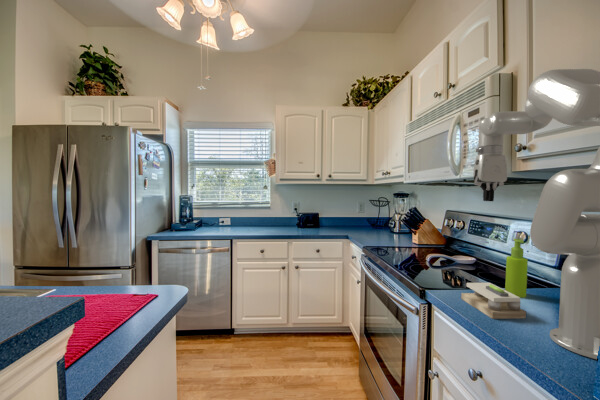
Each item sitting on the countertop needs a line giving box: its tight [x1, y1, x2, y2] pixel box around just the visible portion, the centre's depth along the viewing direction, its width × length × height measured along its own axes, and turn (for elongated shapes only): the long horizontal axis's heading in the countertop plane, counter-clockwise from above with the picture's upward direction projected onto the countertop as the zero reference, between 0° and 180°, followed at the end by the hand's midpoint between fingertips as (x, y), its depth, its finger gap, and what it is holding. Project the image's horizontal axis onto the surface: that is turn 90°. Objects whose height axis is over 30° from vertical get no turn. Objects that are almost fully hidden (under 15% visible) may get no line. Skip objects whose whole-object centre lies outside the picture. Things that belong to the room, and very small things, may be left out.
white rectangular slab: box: [466, 282, 521, 303], centre depth 85 cm, size 12×8×3 cm, turn 3°
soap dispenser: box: [504, 238, 529, 299], centre depth 95 cm, size 6×7×20 cm
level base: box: [460, 291, 527, 320], centre depth 85 cm, size 14×10×4 cm
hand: (488, 200), depth 101 cm, fingers closed
